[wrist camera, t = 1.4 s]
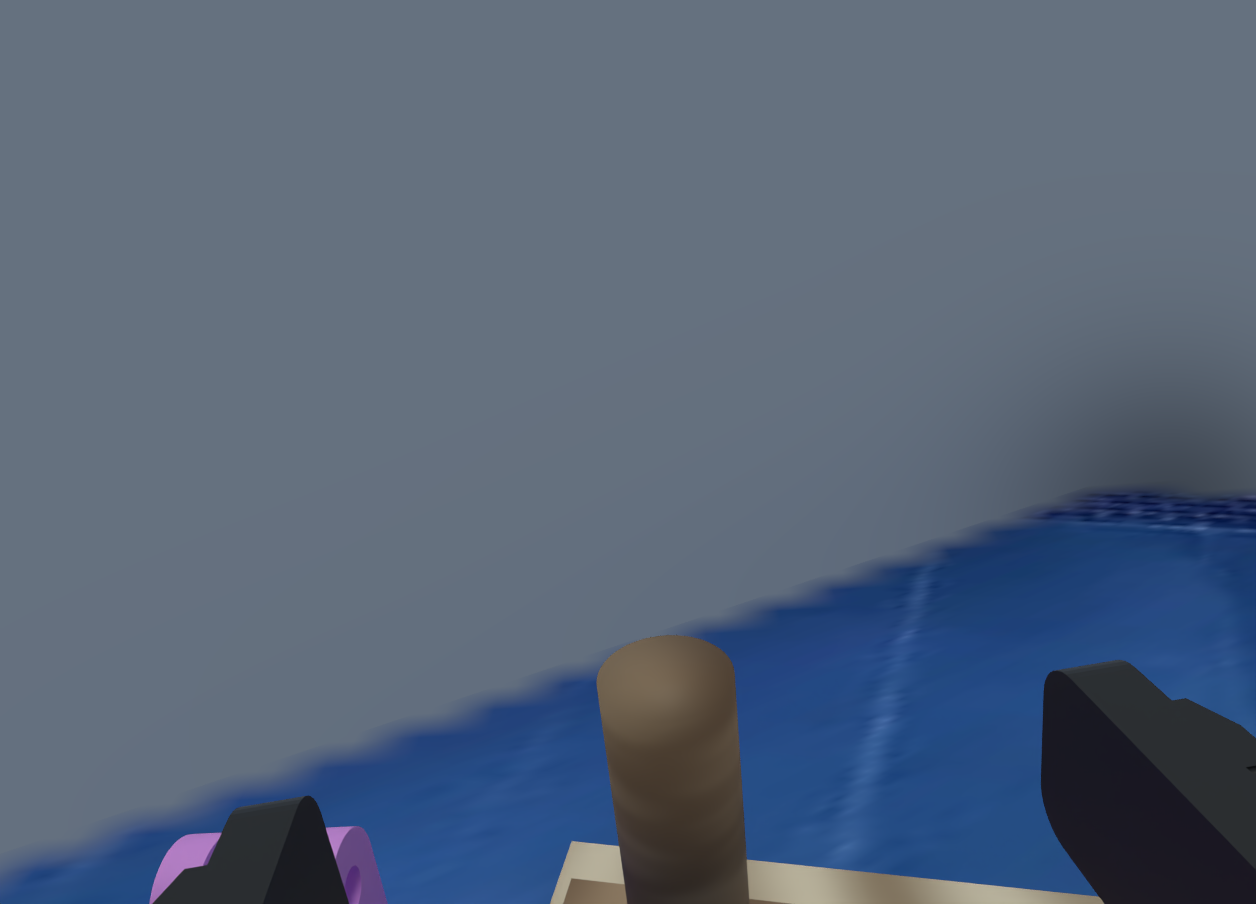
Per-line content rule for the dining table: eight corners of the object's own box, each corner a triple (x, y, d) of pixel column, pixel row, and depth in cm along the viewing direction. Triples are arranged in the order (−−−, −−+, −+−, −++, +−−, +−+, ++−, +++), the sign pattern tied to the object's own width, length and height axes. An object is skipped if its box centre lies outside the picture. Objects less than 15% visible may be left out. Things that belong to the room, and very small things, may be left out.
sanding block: (523, 1135, 25) (434, 751, 19) (582, 940, 30) (523, 597, 25) (865, 1199, 22) (868, 786, 17) (862, 977, 28) (864, 610, 23)
